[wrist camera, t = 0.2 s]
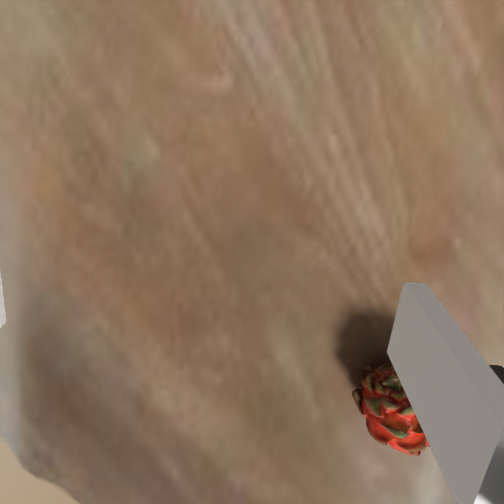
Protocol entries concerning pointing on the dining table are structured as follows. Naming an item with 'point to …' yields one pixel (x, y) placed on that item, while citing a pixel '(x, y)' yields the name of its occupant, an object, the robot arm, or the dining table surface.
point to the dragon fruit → (389, 410)
